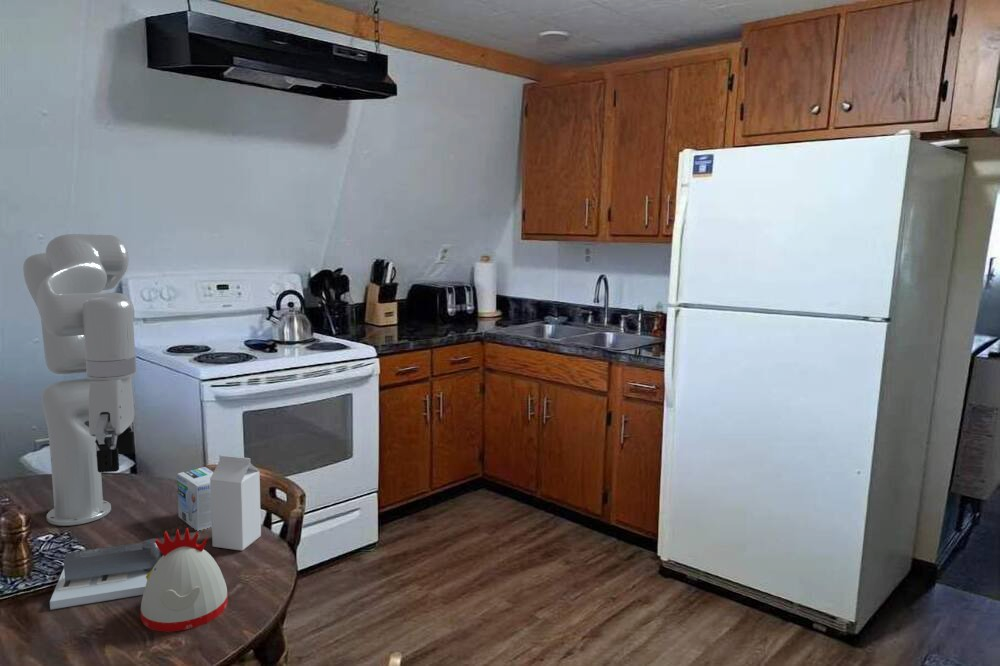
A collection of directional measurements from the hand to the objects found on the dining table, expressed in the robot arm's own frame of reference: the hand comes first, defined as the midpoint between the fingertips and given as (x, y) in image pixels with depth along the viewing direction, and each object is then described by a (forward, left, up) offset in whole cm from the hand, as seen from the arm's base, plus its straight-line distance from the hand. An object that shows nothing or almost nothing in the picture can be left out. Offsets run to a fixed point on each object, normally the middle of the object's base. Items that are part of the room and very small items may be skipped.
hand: (117, 462), depth 121 cm
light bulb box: (-28, +13, -25) cm, 40 cm away
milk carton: (-14, +20, -25) cm, 35 cm away
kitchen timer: (+10, +10, -25) cm, 29 cm away
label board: (-6, -4, -25) cm, 26 cm away
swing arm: (-4, -2, -23) cm, 23 cm away
